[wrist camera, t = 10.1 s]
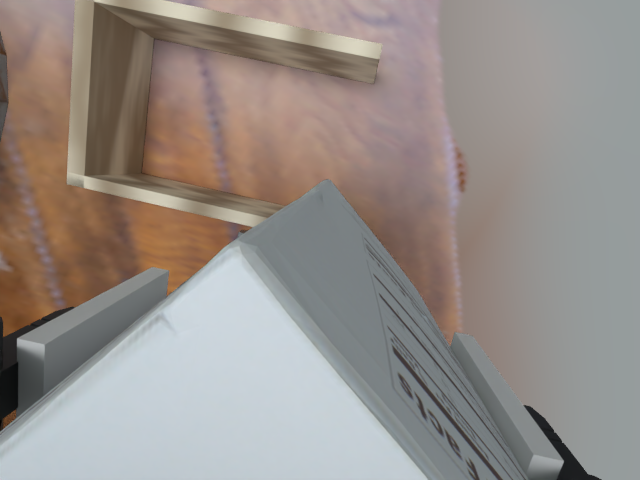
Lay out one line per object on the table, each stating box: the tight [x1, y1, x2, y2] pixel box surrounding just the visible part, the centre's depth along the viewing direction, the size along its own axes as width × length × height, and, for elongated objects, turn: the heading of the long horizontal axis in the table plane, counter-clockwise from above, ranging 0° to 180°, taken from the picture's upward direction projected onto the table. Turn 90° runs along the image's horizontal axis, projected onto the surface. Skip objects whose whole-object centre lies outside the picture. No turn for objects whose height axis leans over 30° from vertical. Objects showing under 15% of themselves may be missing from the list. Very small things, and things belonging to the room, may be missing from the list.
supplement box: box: [0, 179, 529, 480], centre depth 12 cm, size 10×9×17 cm
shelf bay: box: [67, 0, 383, 227], centre depth 31 cm, size 23×15×8 cm, turn 78°
